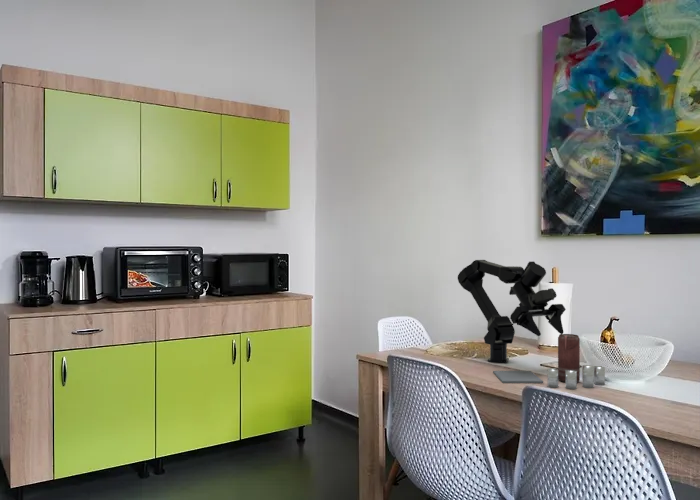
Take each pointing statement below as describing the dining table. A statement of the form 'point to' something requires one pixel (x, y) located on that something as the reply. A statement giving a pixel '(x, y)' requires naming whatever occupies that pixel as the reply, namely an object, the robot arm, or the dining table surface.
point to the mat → (517, 377)
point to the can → (568, 355)
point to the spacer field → (589, 377)
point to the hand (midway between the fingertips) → (551, 334)
